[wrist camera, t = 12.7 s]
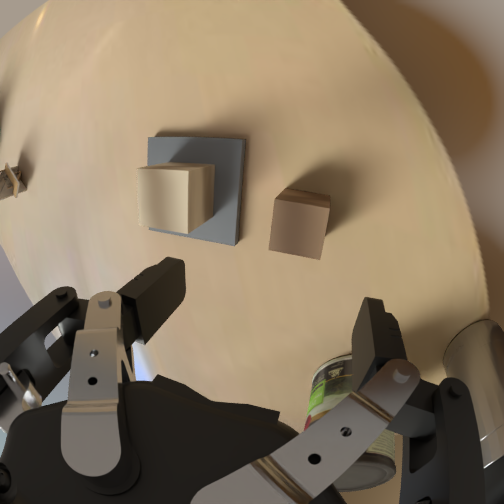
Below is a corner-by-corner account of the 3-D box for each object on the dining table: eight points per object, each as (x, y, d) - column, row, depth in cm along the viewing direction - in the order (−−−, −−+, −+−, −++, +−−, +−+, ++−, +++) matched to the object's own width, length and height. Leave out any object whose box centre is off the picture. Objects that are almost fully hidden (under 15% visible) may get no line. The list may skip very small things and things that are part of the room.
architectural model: (20, 158, 33) (-11, 167, 27) (34, 178, 34) (0, 189, 27) (18, 173, 35) (-12, 183, 29) (31, 193, 35) (-1, 205, 29)
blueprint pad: (245, 139, 23) (242, 139, 22) (237, 242, 27) (234, 246, 26) (153, 137, 25) (148, 137, 24) (154, 227, 29) (149, 229, 28)
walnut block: (330, 195, 23) (329, 208, 19) (322, 237, 25) (320, 259, 20) (285, 188, 24) (274, 199, 19) (280, 229, 25) (268, 249, 21)
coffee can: (301, 395, 33) (279, 484, 21) (329, 345, 29) (314, 454, 16) (367, 409, 32) (362, 495, 19) (404, 363, 27) (417, 464, 15)
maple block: (215, 164, 24) (188, 170, 19) (212, 217, 26) (187, 234, 21) (168, 161, 25) (136, 168, 20) (168, 210, 27) (138, 225, 22)
